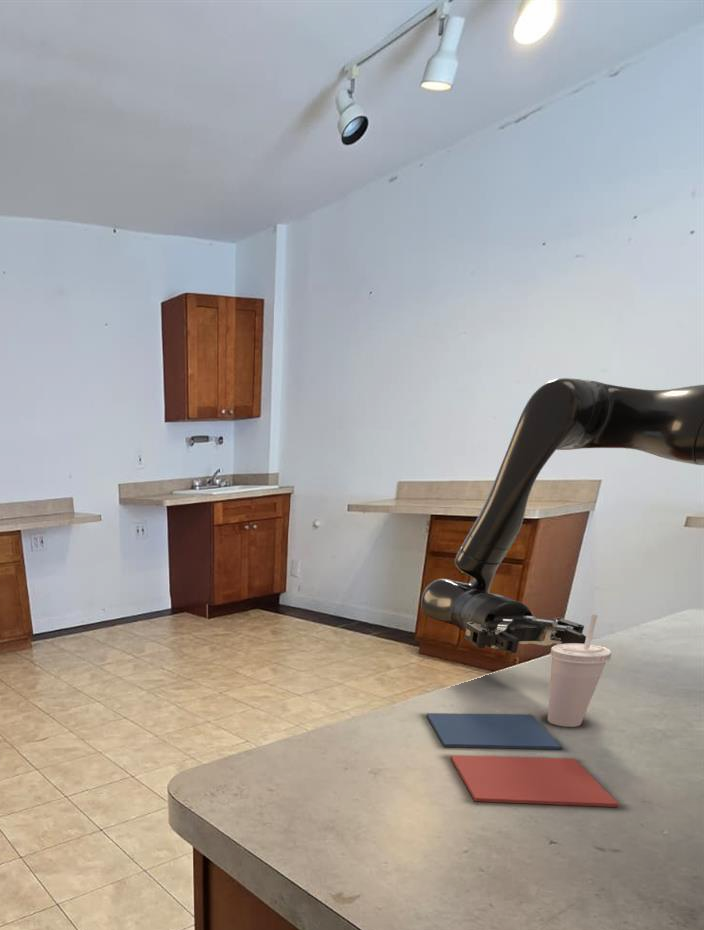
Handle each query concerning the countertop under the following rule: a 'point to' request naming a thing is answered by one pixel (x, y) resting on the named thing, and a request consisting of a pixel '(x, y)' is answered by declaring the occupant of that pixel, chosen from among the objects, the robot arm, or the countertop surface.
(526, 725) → the blue mat
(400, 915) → the countertop surface
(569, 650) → the smoothie
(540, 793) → the red mat
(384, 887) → the countertop surface
